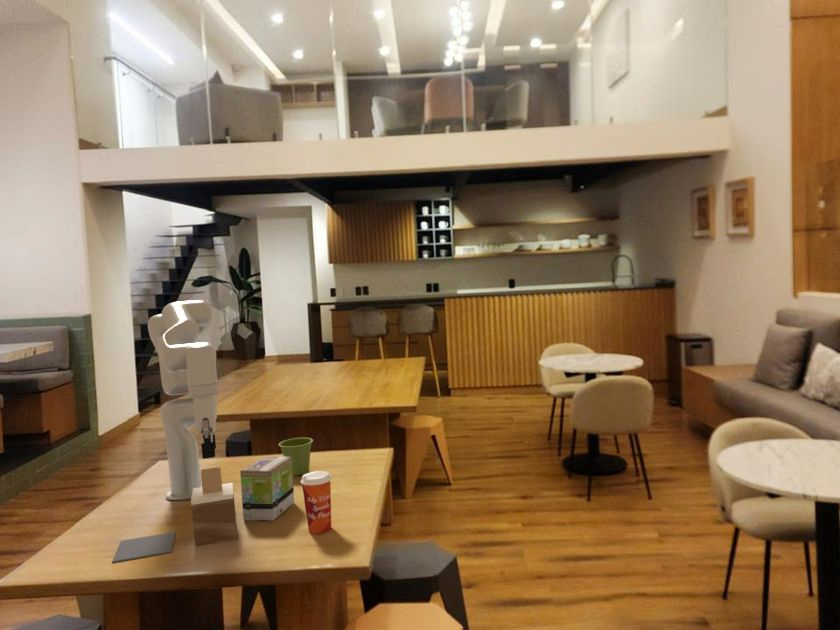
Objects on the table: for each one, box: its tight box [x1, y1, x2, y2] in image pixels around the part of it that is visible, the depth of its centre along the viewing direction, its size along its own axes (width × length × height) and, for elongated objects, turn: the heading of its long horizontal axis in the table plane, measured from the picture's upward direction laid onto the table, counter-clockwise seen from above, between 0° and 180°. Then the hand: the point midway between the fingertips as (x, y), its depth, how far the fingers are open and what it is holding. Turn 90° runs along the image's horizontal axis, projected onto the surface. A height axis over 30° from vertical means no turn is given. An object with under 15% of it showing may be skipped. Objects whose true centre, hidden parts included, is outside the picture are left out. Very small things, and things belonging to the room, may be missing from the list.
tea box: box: [239, 456, 295, 522], centre depth 192 cm, size 15×10×15 cm, turn 168°
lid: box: [190, 466, 234, 505], centre depth 176 cm, size 11×11×8 cm
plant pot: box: [278, 437, 314, 477], centre depth 229 cm, size 12×12×11 cm
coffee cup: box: [300, 470, 332, 535], centre depth 176 cm, size 8×8×15 cm
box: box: [190, 490, 238, 547], centre depth 177 cm, size 11×11×11 cm
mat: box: [111, 531, 176, 564], centre depth 172 cm, size 14×14×1 cm
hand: (209, 453), depth 175 cm, fingers open, 9 cm apart
